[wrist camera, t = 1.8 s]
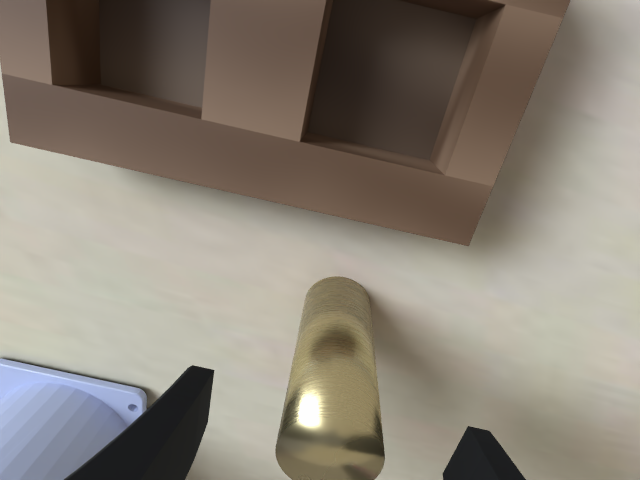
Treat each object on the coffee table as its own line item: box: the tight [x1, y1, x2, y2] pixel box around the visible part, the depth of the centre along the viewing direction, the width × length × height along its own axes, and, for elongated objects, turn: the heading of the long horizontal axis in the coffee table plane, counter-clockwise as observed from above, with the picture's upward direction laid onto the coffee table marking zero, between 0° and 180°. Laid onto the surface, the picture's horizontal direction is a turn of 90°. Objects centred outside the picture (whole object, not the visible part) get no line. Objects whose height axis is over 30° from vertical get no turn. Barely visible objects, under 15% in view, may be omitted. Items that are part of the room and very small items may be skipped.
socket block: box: [0, 0, 570, 246], centre depth 11 cm, size 8×14×3 cm, turn 78°
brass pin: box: [276, 277, 385, 480], centre depth 13 cm, size 3×3×7 cm
